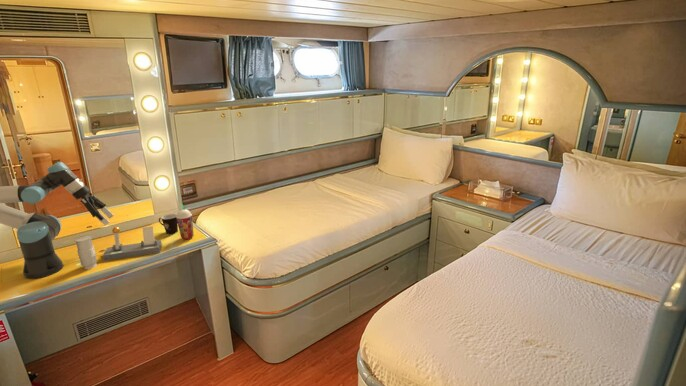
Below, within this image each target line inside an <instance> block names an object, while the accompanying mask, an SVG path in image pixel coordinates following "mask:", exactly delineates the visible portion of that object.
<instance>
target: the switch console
mask: <svg viewBox="0 0 686 386" xmlns="http://www.w3.org/2000/svg"><path fill="white" fill-rule="evenodd" d="M154 239H155V243H152V244H145V245H144V240H141V242H138V243H131V244H130V243H129V244H125V245H123V243H120V245H119V248H118V249H116V247H115V244H112V246H111V247H110V246H109V247H106V249H105V251H104V253H103V254H102V259H103V262H107V261H113V260H119V259H127V258H132V257H140V256H146V255H152V254H159V253H161V249H162V246H163V243H162V240H161V239H157V238H154Z"/></svg>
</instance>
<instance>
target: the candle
mask: <svg viewBox="0 0 686 386" xmlns="http://www.w3.org/2000/svg"><path fill="white" fill-rule="evenodd" d="M92 240H93V239H92V235H83V236H79V237H77V238H75V239H74V242H75V244H76V245H75V246H76V247H77V256H78V259H79V260H80V265H81V266H82V269H83V270H90V269H93V268H96V267H97V266H98V264H97V262H98V259H97V256H96V255H97V253H96V249H95V246H94V244H93V241H92Z"/></svg>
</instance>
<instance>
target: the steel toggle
mask: <svg viewBox="0 0 686 386" xmlns="http://www.w3.org/2000/svg"><path fill="white" fill-rule="evenodd" d="M120 231H121V228H120V227H118V226H114V227H113V228H112V229H111V232H112V234H113V236H114V245H115V247H116V249H118V248H119V245H120V244H121V243H120V235H119V233H120Z"/></svg>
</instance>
